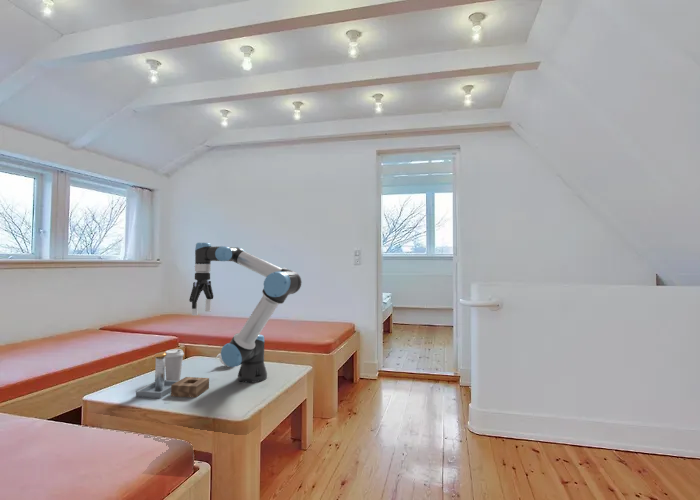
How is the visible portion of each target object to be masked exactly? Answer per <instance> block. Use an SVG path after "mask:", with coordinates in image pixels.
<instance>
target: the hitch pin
mask: <svg viewBox="0 0 700 500" xmlns="http://www.w3.org/2000/svg"><path fill="white" fill-rule="evenodd" d="M165 356H166V353H165V352H157V353H155V354H154V358H155V372H154V374H155V375H154V382H155V391H156V392H159V391H163V390H164V383H165V380H166V370H165Z"/></svg>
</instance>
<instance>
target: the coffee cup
mask: <svg viewBox="0 0 700 500" xmlns="http://www.w3.org/2000/svg"><path fill="white" fill-rule="evenodd" d="M164 353H166V356H165V380H168V381H180V380H181V374H182V366H183V358H184V357H183V356H184V355H185V352H184V351H183V349H180V348H176V349H175V348H174V349H168V350H165V352H164Z"/></svg>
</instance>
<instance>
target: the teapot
mask: <svg viewBox="0 0 700 500" xmlns="http://www.w3.org/2000/svg"><path fill="white" fill-rule="evenodd" d="M218 358H219V361H220V363H221V364H223V365H224V366H226V367H227V368H230V367H229V366H227V365H226V364H225V363H224V362H223V360H222V356H221V352H220V353H218V354H217V356H216V357H215V359H218Z"/></svg>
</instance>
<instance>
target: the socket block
mask: <svg viewBox="0 0 700 500" xmlns="http://www.w3.org/2000/svg"><path fill="white" fill-rule="evenodd" d="M209 389H210V377H196V376H195V377H194V376H192V377H191V376H185V377H183V378H180V380H179V381H178V382H176V383H174V384H173V385H171V393H170V396H171V397H177V398H178V397H179V398H196V399H197V398H198V397H199V396H200V395H202V394H204V393H205V392H207V390H209Z"/></svg>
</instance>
